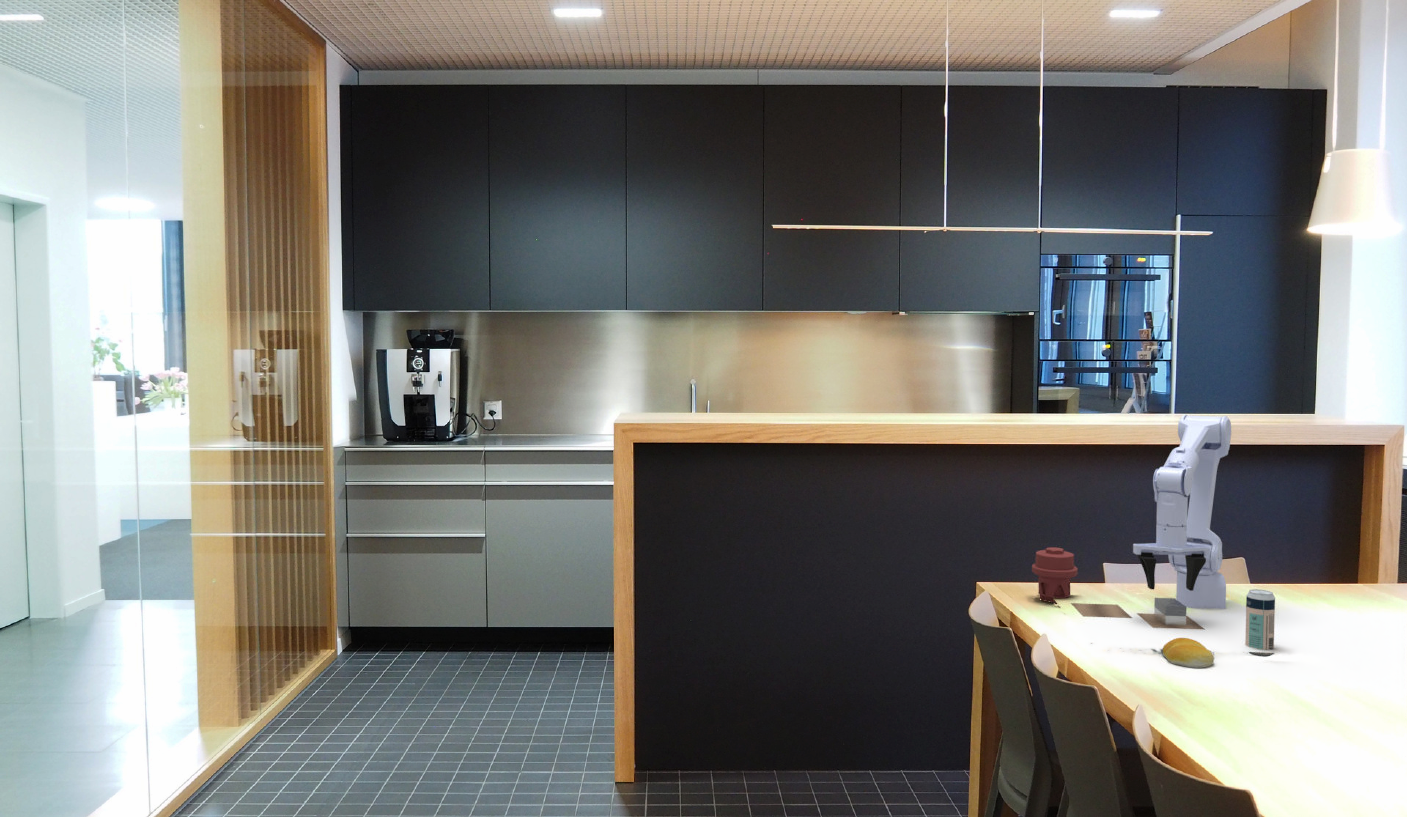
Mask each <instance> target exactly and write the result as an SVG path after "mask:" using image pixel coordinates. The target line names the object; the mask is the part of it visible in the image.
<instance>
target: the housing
mask: <svg viewBox="0 0 1407 817" xmlns="http://www.w3.org/2000/svg"><path fill="white" fill-rule="evenodd" d="M1153 609H1154V612H1153V614H1154V616H1155V617H1156V618H1157V619H1158V620H1159V621H1161V622H1162V623H1163V624H1164V625H1171V626H1186V615H1187V607H1186V606H1184V605H1183V604H1182V603H1180V602H1179V601H1178V600H1176V597H1175V598H1174V597H1154V608H1153Z"/></svg>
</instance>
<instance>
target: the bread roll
mask: <svg viewBox="0 0 1407 817" xmlns="http://www.w3.org/2000/svg"><path fill="white" fill-rule="evenodd" d="M1162 647H1163V648H1162V654H1163V656H1164V658H1165V659H1167V661H1168V662H1170V664H1172V665H1175V666H1176V665H1177V666H1181V667H1187V668H1193V669H1201V668H1203V669H1204V668H1207V667H1210V666H1212V665H1213V664H1214V660H1215V657H1214V654H1213V653H1212V651H1210V649H1207V647H1206V646H1205V645H1203V644H1202V643H1200V641H1197V640H1195V639H1192V638H1188V637H1176V638H1173V639H1172V640H1169V641H1168V642H1166V643H1165V644H1164V645H1163V646H1162Z"/></svg>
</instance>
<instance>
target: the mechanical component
mask: <svg viewBox="0 0 1407 817" xmlns="http://www.w3.org/2000/svg"><path fill="white" fill-rule="evenodd" d="M1074 562H1075V555H1074V553H1072V552H1069V551H1065V549H1064V548H1061V547H1056V546H1055V547H1054V546H1053V547H1051V546H1050V547H1046V549H1042V550H1037V551H1036V552H1035V563H1033V564H1032V566H1031V572H1032V573H1033V574H1034V575H1036V576H1038V585H1037V586H1038V587H1037V588H1038V592H1037V593H1038V595H1039V598H1038V599H1039V600H1040V599H1041V600H1040V601H1044V600H1045V602H1048V601H1050V602H1049V603H1053V604H1054V605H1057V604H1058V602H1056V600H1055V599H1059V600H1060V599H1066V598H1069V597H1071V580H1072V578H1075V577H1076V576H1078V574H1079V573H1078V569H1079V568H1078V567H1077V566H1075V564H1074Z"/></svg>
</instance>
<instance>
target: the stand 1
mask: <svg viewBox="0 0 1407 817" xmlns="http://www.w3.org/2000/svg"><path fill="white" fill-rule="evenodd" d="M1070 604H1071V605H1072V606H1073V607H1074V609H1076V611H1077V612H1078V613H1079V615H1081V616H1082V617H1087V618H1091V617H1092V618H1115V619H1116V618H1118V619H1119V618H1120V619H1133V617H1132V616H1131V615H1130V614H1129V613H1128V612H1127V611H1125V610H1124V609H1123V608H1122V607H1121V606H1120V605H1118V604H1110V603H1109V604H1106V603H1076V602H1071V603H1070Z"/></svg>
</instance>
